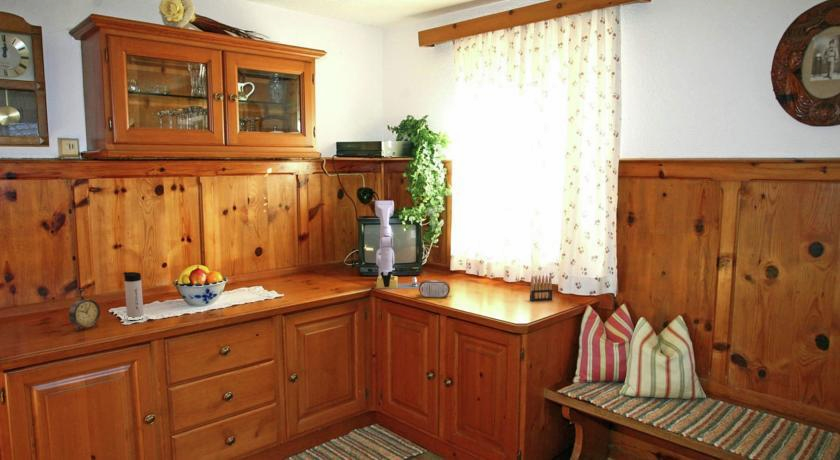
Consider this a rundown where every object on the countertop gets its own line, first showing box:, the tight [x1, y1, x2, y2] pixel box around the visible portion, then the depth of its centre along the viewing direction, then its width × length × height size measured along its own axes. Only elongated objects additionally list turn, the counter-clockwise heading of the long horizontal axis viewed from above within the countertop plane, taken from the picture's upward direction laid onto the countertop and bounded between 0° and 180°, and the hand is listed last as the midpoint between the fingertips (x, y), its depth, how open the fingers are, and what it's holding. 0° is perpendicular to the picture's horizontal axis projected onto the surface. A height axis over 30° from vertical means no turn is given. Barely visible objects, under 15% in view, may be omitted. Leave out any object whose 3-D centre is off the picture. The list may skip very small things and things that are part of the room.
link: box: [376, 275, 399, 288], centre depth 303 cm, size 10×10×4 cm
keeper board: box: [374, 282, 421, 290], centre depth 303 cm, size 13×26×1 cm, turn 89°
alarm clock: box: [68, 288, 101, 332], centre depth 232 cm, size 11×5×16 cm, turn 155°
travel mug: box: [122, 271, 144, 318], centre depth 245 cm, size 6×7×20 cm
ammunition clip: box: [529, 274, 553, 302], centre depth 275 cm, size 11×2×12 cm, turn 101°
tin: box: [418, 279, 451, 299], centre depth 282 cm, size 15×3×8 cm, turn 84°
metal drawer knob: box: [411, 276, 418, 287], centre depth 303 cm, size 4×4×4 cm
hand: (386, 286), depth 299 cm, fingers closed on link
